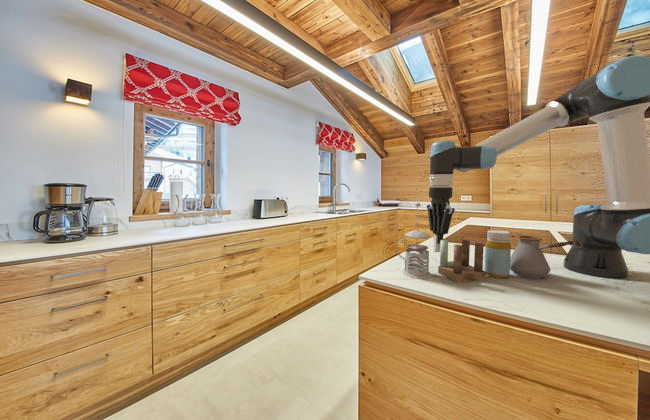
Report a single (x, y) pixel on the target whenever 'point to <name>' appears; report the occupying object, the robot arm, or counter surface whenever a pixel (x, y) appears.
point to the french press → (416, 255)
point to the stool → (465, 264)
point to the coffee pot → (532, 257)
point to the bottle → (497, 254)
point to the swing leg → (444, 254)
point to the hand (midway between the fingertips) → (437, 251)
